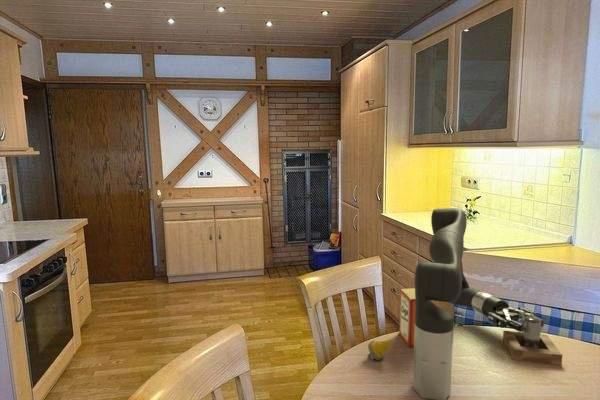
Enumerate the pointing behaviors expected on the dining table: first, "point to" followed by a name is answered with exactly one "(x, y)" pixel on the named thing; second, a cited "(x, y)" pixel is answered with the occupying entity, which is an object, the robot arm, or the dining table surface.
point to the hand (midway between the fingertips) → (532, 326)
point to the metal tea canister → (531, 332)
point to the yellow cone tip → (378, 349)
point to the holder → (532, 349)
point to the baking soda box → (407, 315)
